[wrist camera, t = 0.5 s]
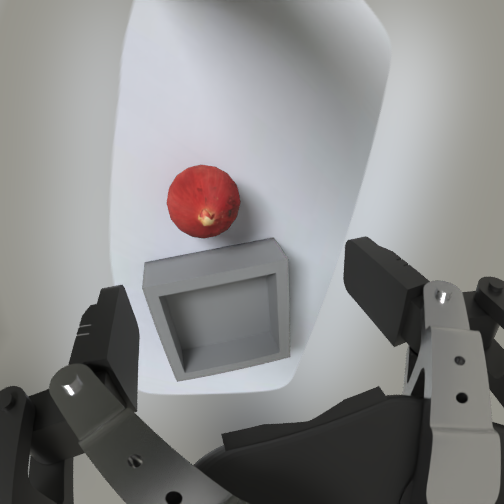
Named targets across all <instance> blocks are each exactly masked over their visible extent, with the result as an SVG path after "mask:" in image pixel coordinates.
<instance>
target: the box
mask: <svg viewBox="0 0 504 504" xmlns="http://www.w3.org/2000/svg"><path fill="white" fill-rule="evenodd" d="M142 289H143V292H144V295H145V298H146V301H147V304H148V307H149V310H150V313H151V315H152V318H153V321H154V324H155V327H156V329H157V332H158V335H159V337H160V340H161V343H162V345H163V348H164V351H165V353H166V356H167V358H168V361H169V363H170V366H171V368H172V371H173V373H174V376H175V378H176V380H177V382H178V381H184V380H189V379H195V378H200V377H205V376H210V375H215V374H220V373H225V372H230V371H234V370H239V369H243V368H247V367H252V366H256V365H260V364H264V363H268V362H272V361H276V360H280V359H284V358H288V357H290V315H289V270H288V258H287V257H286V255H285V254H284V252H283V251H282V249H281V248H280V246H279V245H278V244H277V242H276V241H275V239H274V238H269V239H264V240H259V241H253V242H248V243H243V244H237V245H232V246H227V247H222V248H217V249H211V250H206V251H201V252H196V253H191V254H186V255H180V256H175V257H170V258H165V259H160V260H155V261H150V262H145V264H144V274H143V285H142Z"/></svg>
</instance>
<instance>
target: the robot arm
mask: <svg viewBox="0 0 504 504" xmlns="http://www.w3.org/2000/svg"><path fill="white" fill-rule="evenodd" d="M344 284H345V287H346V290H347V291H348V293H349V294H350V295H351V296H352V298H353V299H354V300H355V301H356V302H357V303H358V305H359V306H360V307H361V308H362V309H363V310H364V312H365V313H366V314H367V315H368V316H369V318H370V319H371V320H372V321H373V322H374V323H375V325H376V326H377V327H378V328H379V329H380V331H381V332H382V333H383V334H384V335H385V336H386V338H387V339H388V340H389V341H390V343H391V344H392V345H393V346H394V347H395V346H398V345H400V344H403V343H405V342H407V343H408V345H409V346H408V349H407V354H406V367H405V377H404V387H403V394H402V395H387V396H385V394H384V393H383V392H382V390H381V388H380V387H379V386H378V387H376V388H373V389H371V390H368V391H366V392H363V393H361V394H358V395H356V396H353V397H350V398H347V399H345V400H343V401H342V402H340V403H339V404H337V405H336V406H334V407H332V408H331V409H329V410H328V411H326V412H324V413H323V414H321V415H319V416H318V417H316V418H314V419H312V420H310V421H307V422H297V423H283V424H264V425H259V426H255V427H251V428H247V429H242V430H238V431H233V432H229V433H224V434H222V438H223V443H224V445H223V446H221V447H218V448H216V449H215V450H213V451H211V452H209V453H208V454H206V455H205V456H203V457H202V458H201V459H199V460H198V461H197V462H196V463H195V464H194V465H192V464H191V463H190V462H189V461H187V460H186V459H185V458H184V457H183V456H181V455H180V454H179V453H178V452H177V451H176V450H174V449H173V448H172V447H171V446H170V445H168V444H167V443H166V442H165V441H164V440H163V439H162V438H161V437H160V436H159V435H158V434H156V433H155V432H154V431H153V430H152V429H151V428H150V427H149V426H148V425H147V424H146V423H145V422H144V421H143V420H142V419H141V418H140V417H139V416H137V415H136V414H135V412H137V386H138V357H139V329H138V324H137V321H136V318H135V315H134V313H133V310H132V307H131V305H130V302H129V299H128V296H127V293H126V291H125V288H124V286H123V285H118V286H112V287H107V288H102V289H101V291H100V295H99V298H98V302H97V304H95V305H90V307H89V308H88V309H87V310H86V312H85V313H84V314H83V316H82V318H81V322H80V328H79V329H78V332H77V336H76V339H75V342H74V346H73V350H72V353H71V357H70V361H69V365H67V366H65V367H63V368H61V369H60V370H59V371H58V372H56V374H55V375H54V376H53V377H52V379H51V381H50V384H49V389H47V390H45V391H42V392H40V393H37V394H34V395H31V396H29V397H28V396H27V395H26V393H25V392H24V391H23V389H21V388H20V387H17V386H10V387H7V388H5V389H3V390H1V391H0V504H74V502H73V457H75V456H77V455H80V454H83V453H85V454H86V455H87V456H88V457H89V459H90V460H91V462H92V463H93V464H94V466H95V467H96V468H97V469H98V471H99V472H100V473H101V475H102V476H103V477H104V478H105V480H106V481H107V482H108V483H109V484H110V486H111V487H112V488H113V489H114V490H115V491H116V493H117V494H118V495H119V496H120V497H121V498H122V499H123V501H124V502H125V503H126V504H504V425H501V424H497V423H494V422H492V412H491V401H490V390H491V392H492V393H493V394H494V395H495V397H496V398H497V399H498V401H499V402H500V403H501V405H502V406H503V407H504V349H503V348H502V347H501V346H500V345H499V344H498V343H497V342H496V340H495V339H494V337H495V335H496V333H497V330H498V328H499V326H501V327H502V328H503V329H504V281H502V280H500V279H498V278H495V277H483V278H481V279H480V280H479V282H478V285H477V289H476V291H472V292H461V290H460V289H459V288H458V287H457V286H455V285H454V284H452V283H449V282H446V281H439V280H436V281H431V282H430V281H428V280H427V279H426V278H425V277H424V276H423V275H421V274H420V273H419V272H418V271H417V270H415V269H414V268H413V267H411V266H410V265H408V263H407V262H405V261H404V260H403V259H402V260H401V258H400V257H399V256H398V255H396V254H395V253H394V252H393V251H390V250H388V249H386V248H383V247H381V246H378V245H377V244H376V243H375V242H373V241H372V240H371V239H370V238H368V237H361V238H357V239H351V240H348V241H347V242H346V245H345V260H344ZM489 389H490V390H489ZM29 455H31V459H30V469H29V477H28V464H29Z"/></svg>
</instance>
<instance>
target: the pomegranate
mask: <svg viewBox="0 0 504 504" xmlns="http://www.w3.org/2000/svg"><path fill="white" fill-rule="evenodd" d="M167 206H168V210H169V214H170V218H171V220H172V221H173V222H174V223H175V225H176V226H177V227H178V228H179V229H180V230H181V231H183V232H184V233H186V234H188V235H190V236H192V237H198V238H209V237H213V236H217V235H219V234H221V233H222V232H224V231H226V230H228V228H229V227H230V226H231V224H232V223H233V221H234V220H235V219H236V217H237V214H238V210H239V206H240V197H239V193H238V188H237V185H236V184H235V182H234V181H233V180H232V179H231V177H230V176H229V175H228V174H227V173H226V172H224V171H222V170H220V169H218V168H217V167H213V166H206V165H198V166H193V167H189V168H187V169H186V170H184V171H183V172H181V173H180V174H178V175H177V176H176V178H175V179H174V181H173V183H172V184H171V186H170V188H169V192H168V198H167Z"/></svg>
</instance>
